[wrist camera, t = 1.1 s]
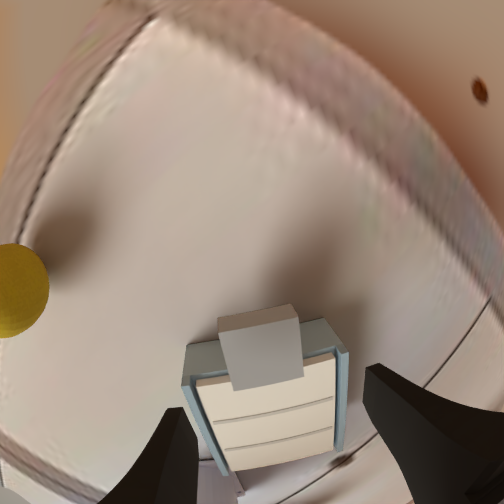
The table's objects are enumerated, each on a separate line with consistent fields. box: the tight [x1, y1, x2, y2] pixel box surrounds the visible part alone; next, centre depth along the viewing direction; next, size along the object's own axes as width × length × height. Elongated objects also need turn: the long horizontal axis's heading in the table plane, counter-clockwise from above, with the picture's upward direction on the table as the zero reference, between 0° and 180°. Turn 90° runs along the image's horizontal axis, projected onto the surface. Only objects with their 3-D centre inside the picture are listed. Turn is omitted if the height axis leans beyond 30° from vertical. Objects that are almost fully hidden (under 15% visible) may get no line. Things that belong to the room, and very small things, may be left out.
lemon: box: [0, 243, 49, 338], centre depth 13 cm, size 6×6×8 cm
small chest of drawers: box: [196, 303, 335, 471], centre depth 17 cm, size 14×8×2 cm, turn 9°
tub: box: [181, 318, 349, 476], centre depth 19 cm, size 11×10×5 cm
